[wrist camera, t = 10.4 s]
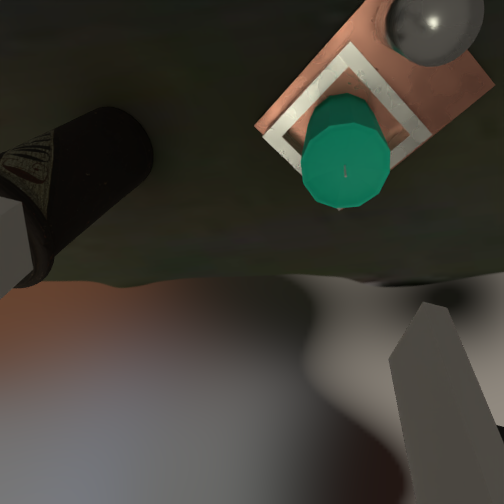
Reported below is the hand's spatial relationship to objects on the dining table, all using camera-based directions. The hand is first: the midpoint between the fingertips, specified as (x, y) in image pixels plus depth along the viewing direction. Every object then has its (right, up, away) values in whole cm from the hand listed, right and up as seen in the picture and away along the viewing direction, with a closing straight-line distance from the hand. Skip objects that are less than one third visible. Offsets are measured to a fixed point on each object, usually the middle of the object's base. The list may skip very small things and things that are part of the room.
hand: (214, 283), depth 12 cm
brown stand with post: (+11, +14, +22) cm, 28 cm away
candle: (+9, +12, +22) cm, 27 cm away
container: (-13, +12, +28) cm, 33 cm away
